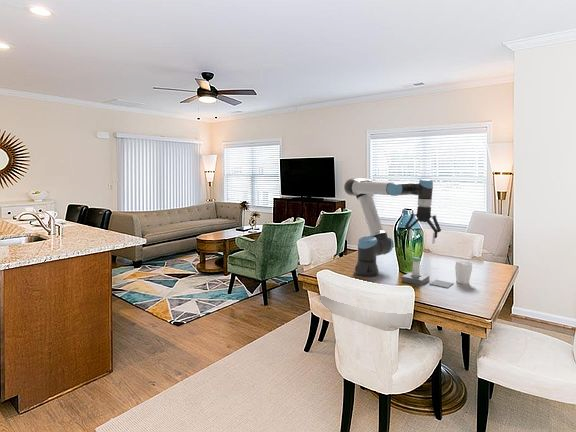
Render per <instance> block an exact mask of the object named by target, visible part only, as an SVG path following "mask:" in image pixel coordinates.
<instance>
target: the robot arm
mask: <svg viewBox="0 0 576 432" xmlns="http://www.w3.org/2000/svg"><path fill="white" fill-rule="evenodd" d="M433 183H434V181H433V179H425V178H424V179H419V181H418V182H415V181H401V182H393V181H392V182H388V181H387V182H380V181H373V180H371V179H370V178H365V177H361V178H357V177H356V178H350V179H347V180H346V181H345V183H344V185H343V186H344V187H343V188H344V189H343V190H344V192H345V193H346V194H347V195H349V196H351V197H353V196H355V197H356V199H357V201H359V202H360V205H361V209H362V211H363V215H364V218H365V220H366V224H367V227H368V230H369V233H370V235H369V236H362V237H360V238H359V239H358V243H357V262H356V263H355V264H356V265H355V268H354V274H355V275H358V276H361V277H368V278H369V277H376V276H378V275H379V273H380V271H379V267H378V264H377V256H383V255H386V254H389V253H391V252H392V250H393V248H394V239H393V238H392V237H390V236H388V233H387V232H386V231H385V230H384V229H383V227H382V223H381V220H380V217H379V214H378V210H377V208H376V204H375V201H374V195H380V196H381V195H382V196H392V197H396V196H397V197H398V196H406V195H407V196H408V195H409V196H410V195H411V196H417V207H416V208H417V209H416V213H414V212H411V215H410V218H409V219H408V220H407V222H406V224H405V225H404V228H405V229H407V235H408V241H412V237H413V235H412V234H413V229H412V228H413V227H414V226H415V225H416V224H418V222H420V223H421V222H422V223H427V224H428V225H429V226H430V228H431V229H432V230H433V233H432V239H431V240H432V241H431V242H432V243H431V244H432V245H433V244H435V242H436V239H437V237H438V233H440V232H442V229H441V227H440V225H439V222H438V219H437V215H436V214H434V215H432V213H431V212H432V207H431V206H432V203H433V201H432V200H433V198H432V197H433V190H434V186H433V185H434V184H433ZM415 217H416V219H415V221H413V219H414V218H415ZM431 219H432V220H433V222H432V221H431ZM433 223H434V224H433Z"/></svg>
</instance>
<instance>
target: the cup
mask: <svg viewBox="0 0 576 432" xmlns="http://www.w3.org/2000/svg"><path fill="white" fill-rule="evenodd" d="M454 267H455V268H454V269H455V280H456V283H458V284H461V285H469V283H470V280H471V275H472V271H473V262H469V261H465V260H458V261H455V266H454Z"/></svg>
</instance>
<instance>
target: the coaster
mask: <svg viewBox="0 0 576 432" xmlns="http://www.w3.org/2000/svg"><path fill="white" fill-rule="evenodd" d="M429 285H431V286H433V287H434V286H435V287H439V288H444V289H448V288H450V287H451V286H453V285H454V282H450V281H444V280H439V279H435V280H433V281H432V282H430V283H429Z"/></svg>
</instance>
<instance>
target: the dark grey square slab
mask: <svg viewBox="0 0 576 432" xmlns="http://www.w3.org/2000/svg"><path fill="white" fill-rule="evenodd" d="M403 281H404V283H409V284H414V285H417V286H422V285H424V284H426V283H428V282H429V281H430V275H427V274H422V273H419V278H416V277H412V271H410V272H407V273H406V274H403V275H402V276H401V282H403Z"/></svg>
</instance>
